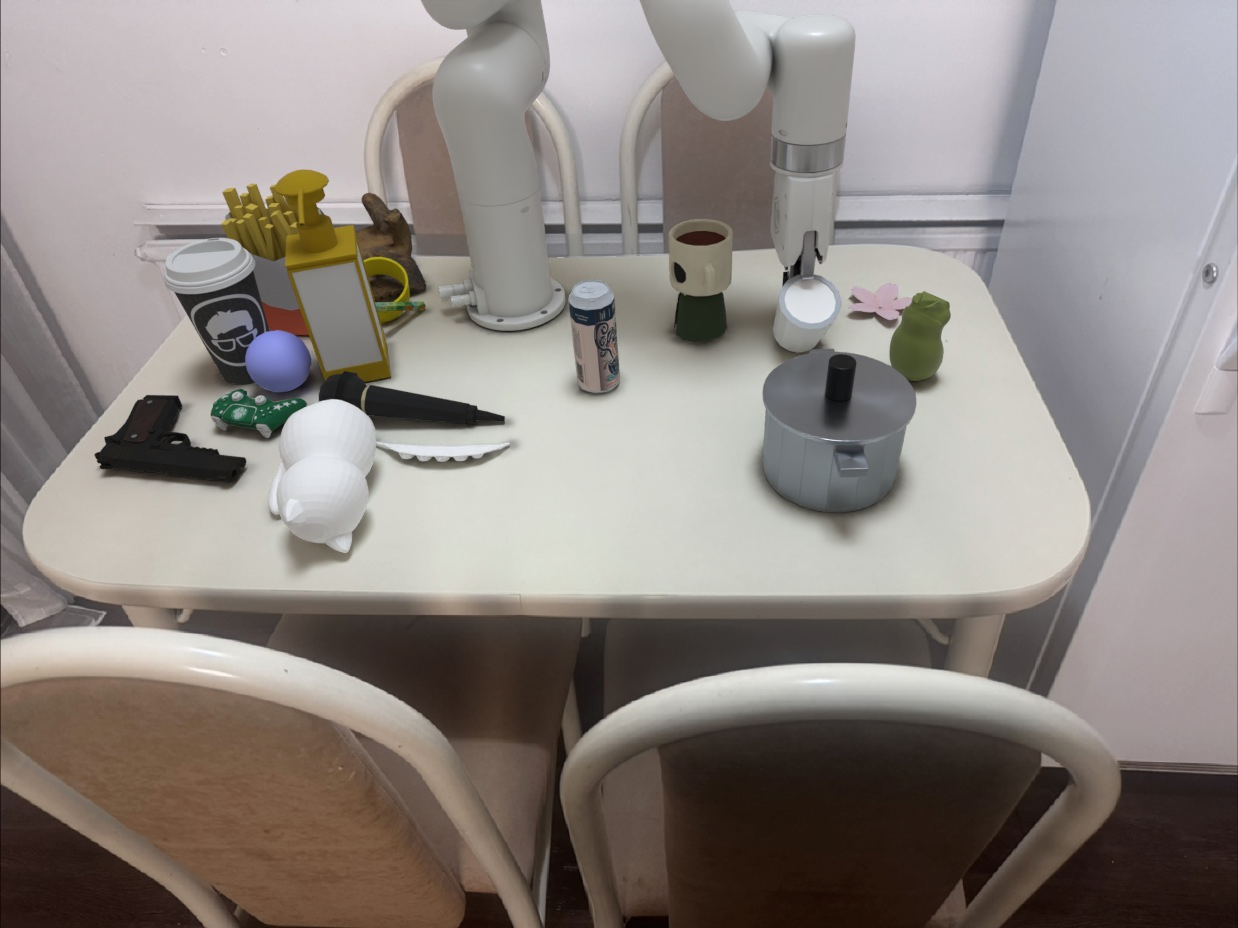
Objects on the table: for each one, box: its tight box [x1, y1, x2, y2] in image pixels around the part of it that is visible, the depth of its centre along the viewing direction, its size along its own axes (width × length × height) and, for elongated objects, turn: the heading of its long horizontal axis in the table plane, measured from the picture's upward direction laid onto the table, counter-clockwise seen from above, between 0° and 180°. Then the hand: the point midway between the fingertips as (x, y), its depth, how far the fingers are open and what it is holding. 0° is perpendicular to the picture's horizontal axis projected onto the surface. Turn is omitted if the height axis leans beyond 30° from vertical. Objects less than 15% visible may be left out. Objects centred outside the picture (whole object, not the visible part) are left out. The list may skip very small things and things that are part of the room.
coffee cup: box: [163, 237, 270, 385], centre depth 99 cm, size 10×10×15 cm
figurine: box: [317, 192, 427, 302], centre depth 118 cm, size 13×8×20 cm
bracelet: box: [364, 257, 411, 324], centre depth 110 cm, size 7×8×3 cm
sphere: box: [245, 330, 312, 393], centre depth 98 cm, size 7×7×7 cm
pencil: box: [375, 301, 427, 312], centre depth 103 cm, size 1×1×18 cm
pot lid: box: [761, 351, 917, 445], centre depth 78 cm, size 14×14×5 cm
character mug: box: [668, 218, 734, 344], centre depth 99 cm, size 11×7×13 cm, turn 8°
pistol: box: [93, 394, 247, 484], centre depth 92 cm, size 2×18×12 cm
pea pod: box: [376, 440, 511, 463], centre depth 89 cm, size 15×4×2 cm, turn 87°
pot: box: [762, 348, 908, 514], centre depth 82 cm, size 13×18×8 cm
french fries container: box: [220, 183, 322, 336], centre depth 104 cm, size 5×11×18 cm, turn 83°
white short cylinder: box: [772, 274, 843, 354], centre depth 97 cm, size 7×7×7 cm
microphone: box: [318, 371, 506, 425], centre depth 93 cm, size 6×6×20 cm
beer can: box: [567, 279, 621, 394], centre depth 93 cm, size 5×5×12 cm
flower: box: [847, 282, 913, 321], centre depth 105 cm, size 10×10×2 cm
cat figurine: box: [267, 399, 377, 554], centre depth 82 cm, size 9×12×15 cm
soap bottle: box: [274, 169, 392, 383], centre depth 92 cm, size 7×13×24 cm, turn 15°
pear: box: [889, 290, 952, 382], centre depth 91 cm, size 6×5×10 cm
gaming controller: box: [210, 388, 308, 439], centre depth 94 cm, size 9×4×6 cm
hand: (796, 304), depth 101 cm, fingers closed
